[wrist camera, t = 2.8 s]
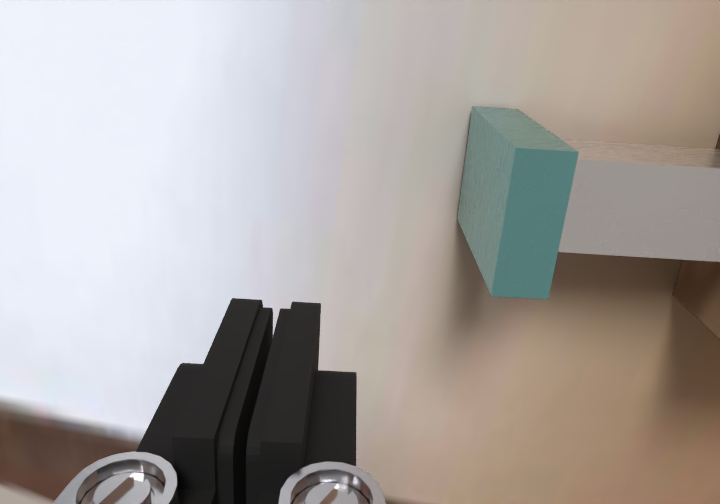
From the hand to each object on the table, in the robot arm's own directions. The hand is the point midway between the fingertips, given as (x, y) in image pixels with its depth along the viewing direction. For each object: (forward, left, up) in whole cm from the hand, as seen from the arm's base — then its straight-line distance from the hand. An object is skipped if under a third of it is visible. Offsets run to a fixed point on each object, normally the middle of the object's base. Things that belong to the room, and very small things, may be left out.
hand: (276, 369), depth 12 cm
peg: (0, +13, -17) cm, 21 cm away
